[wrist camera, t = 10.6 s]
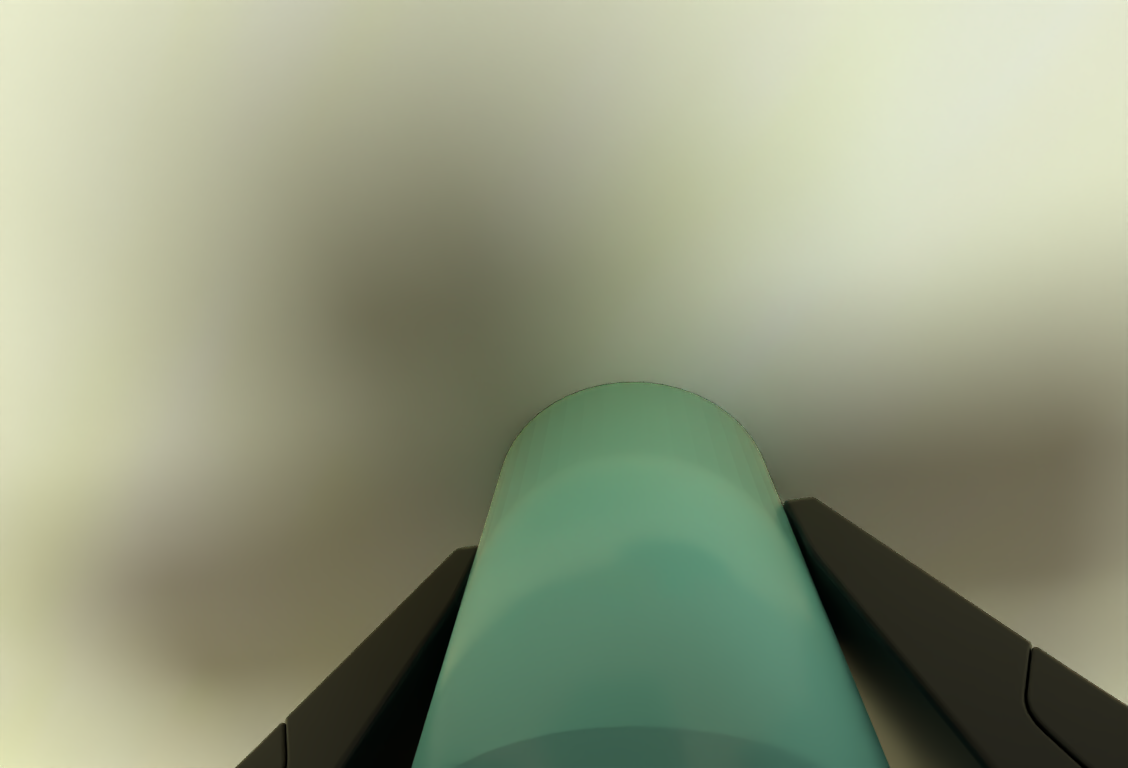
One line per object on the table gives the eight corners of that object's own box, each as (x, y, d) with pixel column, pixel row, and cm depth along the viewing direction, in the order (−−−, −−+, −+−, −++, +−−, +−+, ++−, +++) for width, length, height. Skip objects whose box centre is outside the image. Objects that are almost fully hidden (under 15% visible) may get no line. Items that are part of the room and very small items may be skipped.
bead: (755, 357, 9) (940, 703, 4) (782, 588, 11) (934, 1035, 6) (464, 409, 10) (298, 760, 4) (535, 618, 11) (472, 1037, 6)
